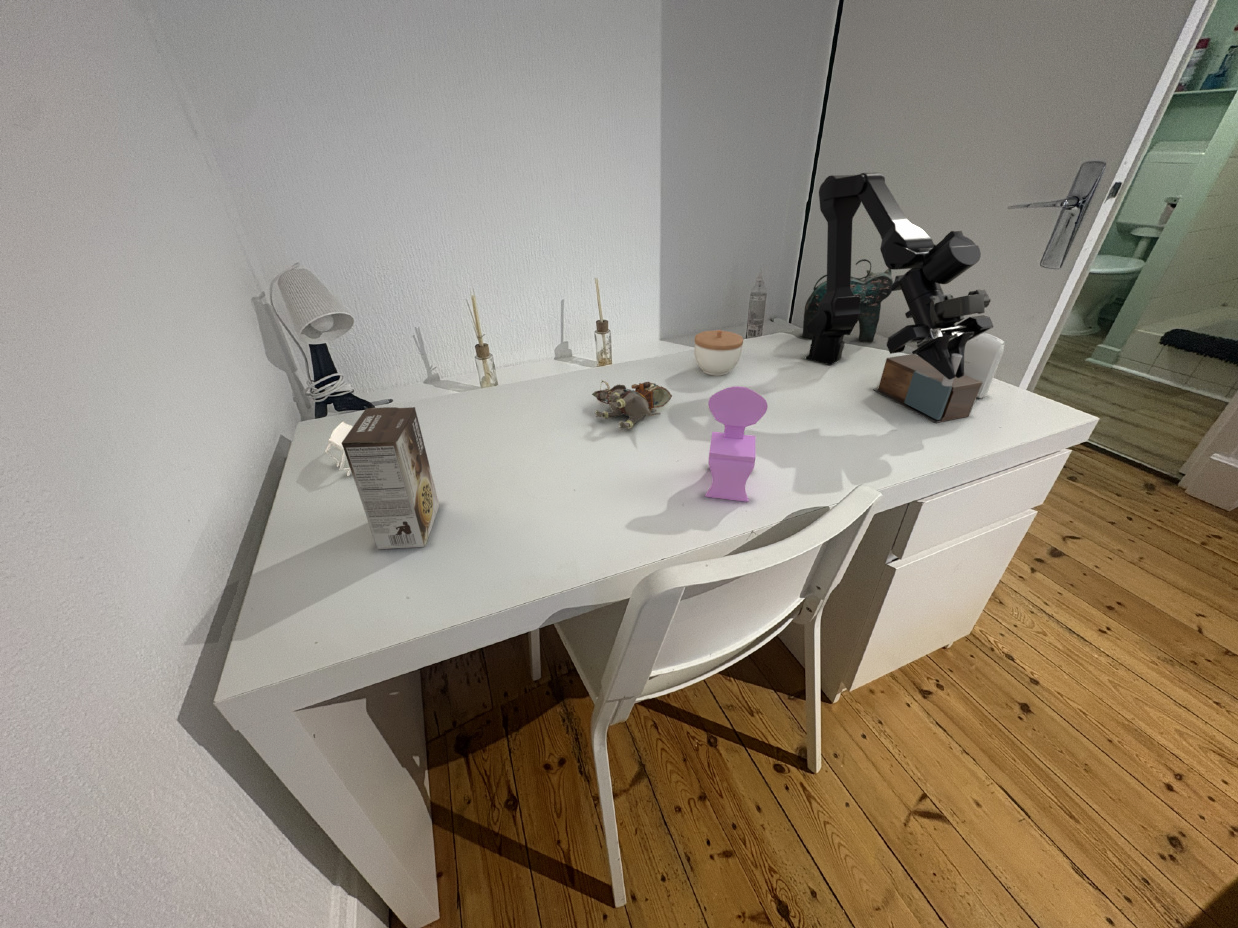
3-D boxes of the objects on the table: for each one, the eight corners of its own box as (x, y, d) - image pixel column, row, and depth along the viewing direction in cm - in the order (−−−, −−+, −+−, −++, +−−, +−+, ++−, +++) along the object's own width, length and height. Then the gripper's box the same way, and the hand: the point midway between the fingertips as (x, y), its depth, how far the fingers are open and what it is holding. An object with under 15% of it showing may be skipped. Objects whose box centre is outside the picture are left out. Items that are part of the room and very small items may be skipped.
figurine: (567, 384, 98) (626, 361, 109) (570, 413, 101) (627, 388, 112) (647, 408, 86) (705, 380, 96) (647, 441, 89) (703, 410, 99)
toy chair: (697, 497, 75) (706, 405, 67) (702, 466, 83) (711, 380, 75) (755, 504, 74) (771, 411, 66) (755, 472, 81) (769, 384, 73)
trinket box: (684, 373, 116) (687, 333, 111) (703, 359, 124) (706, 320, 119) (729, 383, 111) (733, 341, 106) (746, 367, 119) (751, 327, 114)
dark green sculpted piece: (876, 337, 137) (897, 258, 126) (881, 345, 131) (903, 263, 121) (799, 332, 141) (813, 255, 130) (800, 340, 135) (815, 260, 125)
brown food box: (395, 508, 74) (365, 406, 65) (441, 505, 74) (417, 404, 65) (375, 550, 66) (338, 442, 57) (426, 547, 66) (396, 439, 58)
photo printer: (928, 385, 110) (947, 328, 103) (936, 380, 112) (956, 324, 105) (980, 400, 103) (1004, 341, 96) (989, 395, 105) (1013, 336, 99)
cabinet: (872, 390, 108) (881, 358, 104) (903, 385, 110) (913, 353, 106) (935, 423, 95) (948, 388, 91) (969, 416, 97) (982, 382, 93)
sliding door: (902, 403, 101) (921, 343, 94) (908, 402, 101) (927, 342, 95) (935, 420, 94) (958, 357, 88) (942, 419, 95) (965, 356, 88)
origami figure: (394, 462, 84) (386, 436, 82) (340, 481, 80) (330, 454, 77) (369, 436, 92) (361, 411, 89) (318, 452, 87) (309, 426, 85)
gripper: (920, 277, 83) (955, 365, 80) (1004, 268, 88) (1040, 350, 85) (872, 313, 93) (901, 392, 90) (950, 303, 98) (980, 378, 95)
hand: (956, 377), depth 90 cm, fingers closed on sliding door, 2 cm apart
